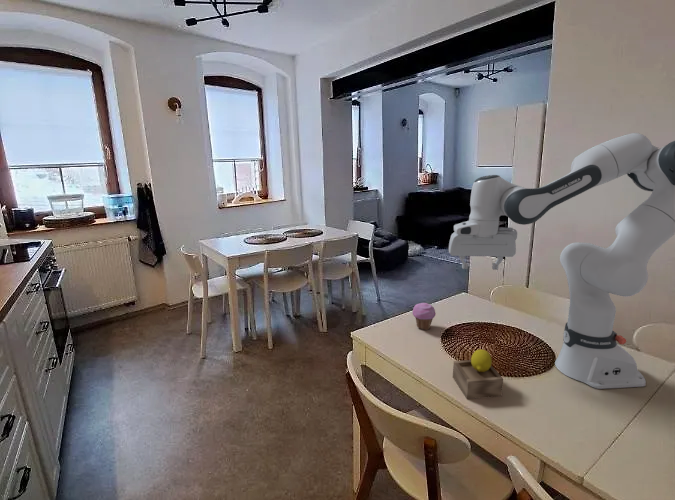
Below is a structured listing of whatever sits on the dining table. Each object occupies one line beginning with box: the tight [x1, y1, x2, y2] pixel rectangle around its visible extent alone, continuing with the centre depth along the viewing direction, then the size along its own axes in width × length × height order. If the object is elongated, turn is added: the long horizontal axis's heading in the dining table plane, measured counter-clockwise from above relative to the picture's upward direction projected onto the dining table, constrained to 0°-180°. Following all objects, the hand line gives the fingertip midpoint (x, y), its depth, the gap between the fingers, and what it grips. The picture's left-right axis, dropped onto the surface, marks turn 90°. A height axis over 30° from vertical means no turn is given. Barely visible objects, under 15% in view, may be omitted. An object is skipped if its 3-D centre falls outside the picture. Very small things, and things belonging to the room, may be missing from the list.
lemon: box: [470, 348, 493, 372], centre depth 104 cm, size 6×6×8 cm
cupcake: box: [412, 302, 437, 331], centre depth 139 cm, size 9×9×10 cm
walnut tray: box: [452, 359, 504, 400], centre depth 104 cm, size 10×10×6 cm
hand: (479, 268), depth 117 cm, fingers open, 8 cm apart
